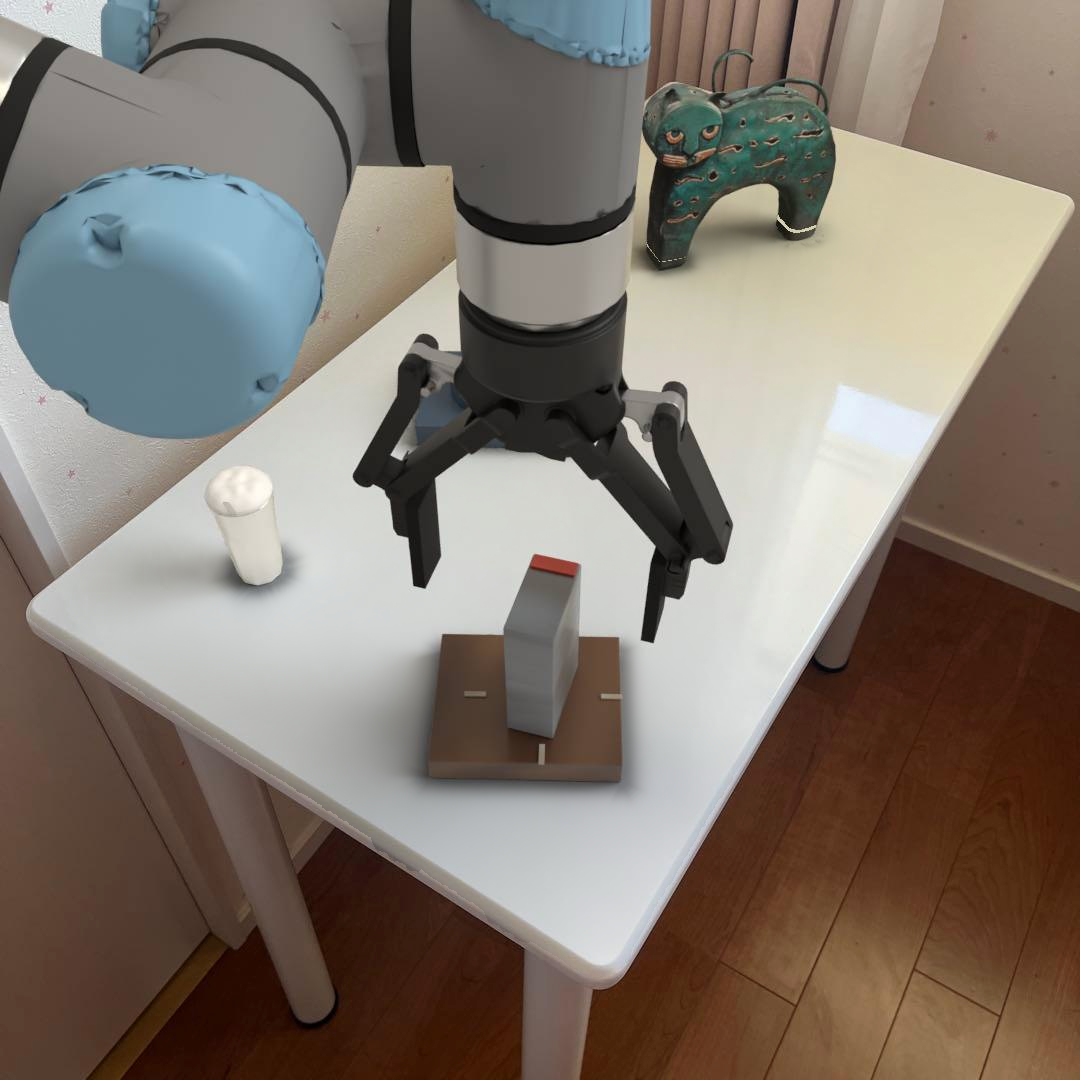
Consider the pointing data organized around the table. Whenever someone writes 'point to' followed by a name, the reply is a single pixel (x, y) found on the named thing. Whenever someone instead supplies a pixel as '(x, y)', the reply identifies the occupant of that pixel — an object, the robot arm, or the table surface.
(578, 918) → the table surface
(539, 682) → the grey slab
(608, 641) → the panel
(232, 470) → the milkshake
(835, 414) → the table surface
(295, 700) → the table surface
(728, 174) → the ceramic cat
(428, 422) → the button block
